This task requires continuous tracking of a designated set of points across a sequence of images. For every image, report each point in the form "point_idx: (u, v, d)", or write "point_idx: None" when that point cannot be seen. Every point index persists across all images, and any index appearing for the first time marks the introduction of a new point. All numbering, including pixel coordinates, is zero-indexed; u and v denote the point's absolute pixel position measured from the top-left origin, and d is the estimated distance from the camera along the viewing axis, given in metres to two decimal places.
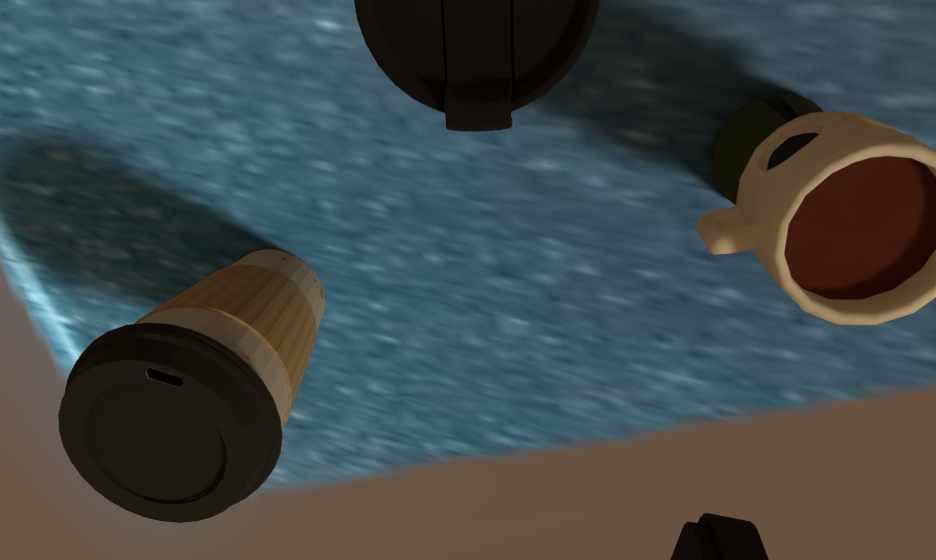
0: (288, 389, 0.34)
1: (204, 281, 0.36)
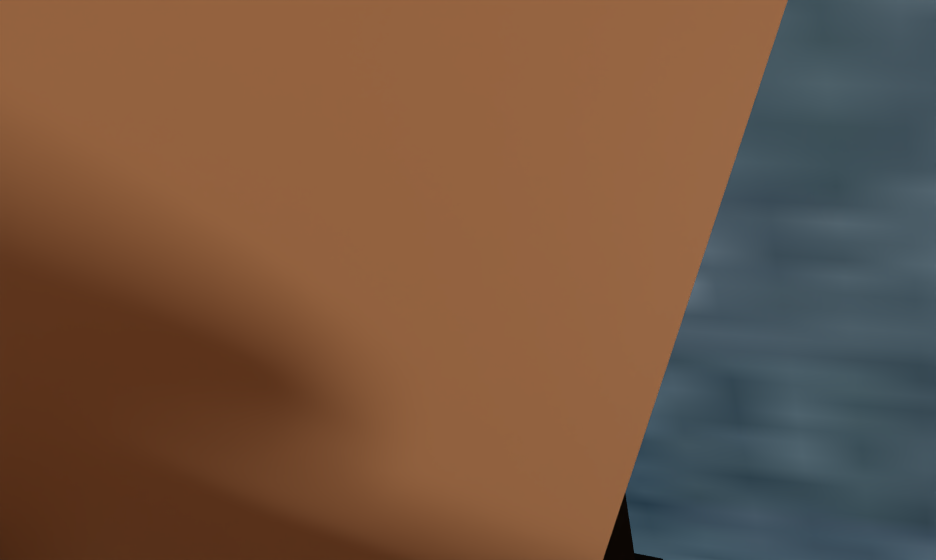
0: None
1: None
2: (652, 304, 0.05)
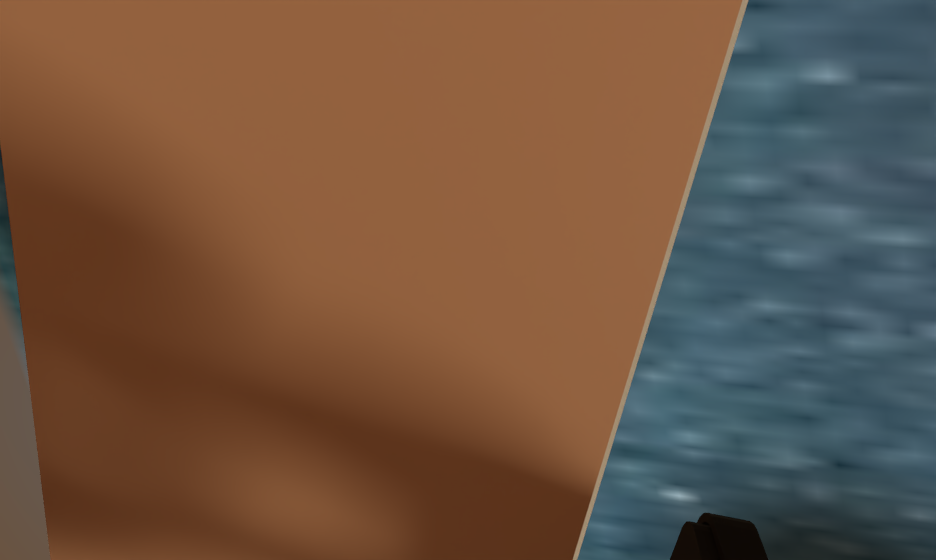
0: None
1: None
2: (641, 240, 0.06)
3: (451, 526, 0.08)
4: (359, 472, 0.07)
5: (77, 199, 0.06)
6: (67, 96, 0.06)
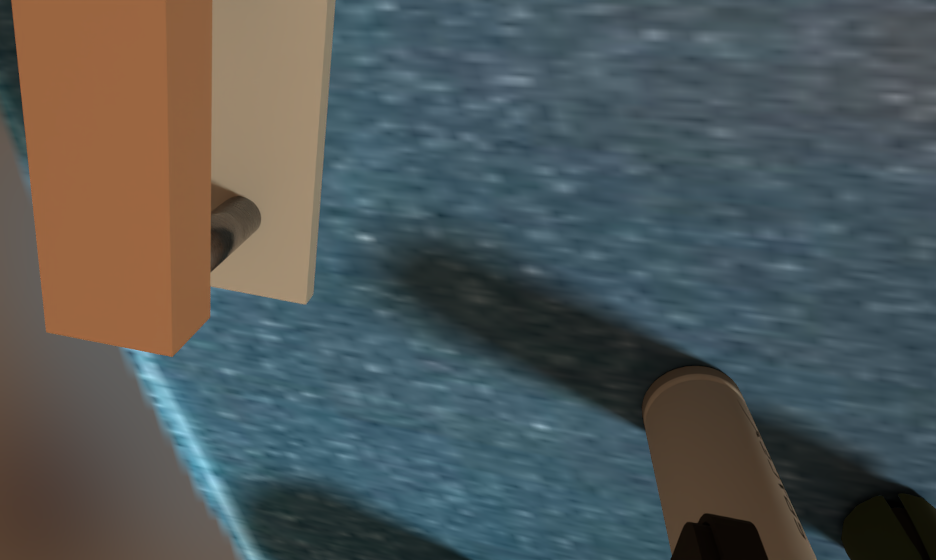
0: None
1: None
2: (159, 16, 0.26)
3: (134, 107, 0.28)
4: (107, 90, 0.28)
5: (29, 9, 0.27)
6: None
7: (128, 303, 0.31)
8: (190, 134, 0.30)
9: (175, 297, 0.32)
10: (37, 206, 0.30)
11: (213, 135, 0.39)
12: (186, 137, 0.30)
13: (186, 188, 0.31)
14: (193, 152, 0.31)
